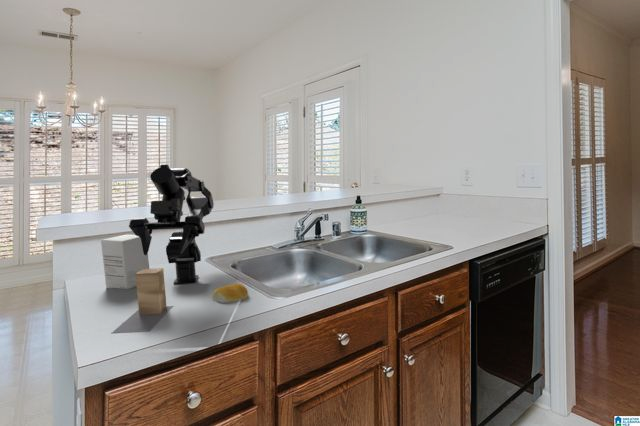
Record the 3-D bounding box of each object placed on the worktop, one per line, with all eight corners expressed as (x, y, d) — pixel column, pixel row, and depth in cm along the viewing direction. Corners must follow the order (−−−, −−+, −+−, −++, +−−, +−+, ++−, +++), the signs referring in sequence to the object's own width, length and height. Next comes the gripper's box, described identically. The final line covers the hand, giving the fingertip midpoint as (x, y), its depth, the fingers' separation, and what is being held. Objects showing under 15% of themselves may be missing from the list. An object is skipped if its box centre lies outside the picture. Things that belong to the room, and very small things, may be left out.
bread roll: (253, 296, 100) (253, 282, 99) (228, 307, 93) (227, 292, 92) (233, 291, 105) (232, 277, 104) (207, 301, 98) (206, 286, 97)
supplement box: (130, 279, 119) (125, 233, 117) (151, 281, 115) (147, 234, 114) (104, 288, 110) (99, 239, 108) (127, 291, 107) (122, 240, 105)
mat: (141, 309, 92) (140, 307, 92) (173, 307, 93) (173, 305, 93) (111, 335, 78) (111, 333, 78) (149, 333, 78) (149, 331, 78)
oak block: (146, 307, 92) (142, 269, 91) (166, 306, 92) (163, 268, 91) (139, 314, 88) (135, 273, 87) (160, 313, 88) (156, 272, 87)
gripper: (126, 189, 98) (112, 241, 90) (197, 186, 99) (190, 237, 91) (142, 211, 107) (131, 260, 99) (207, 209, 108) (201, 257, 100)
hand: (162, 253), depth 97 cm, fingers open, 9 cm apart
